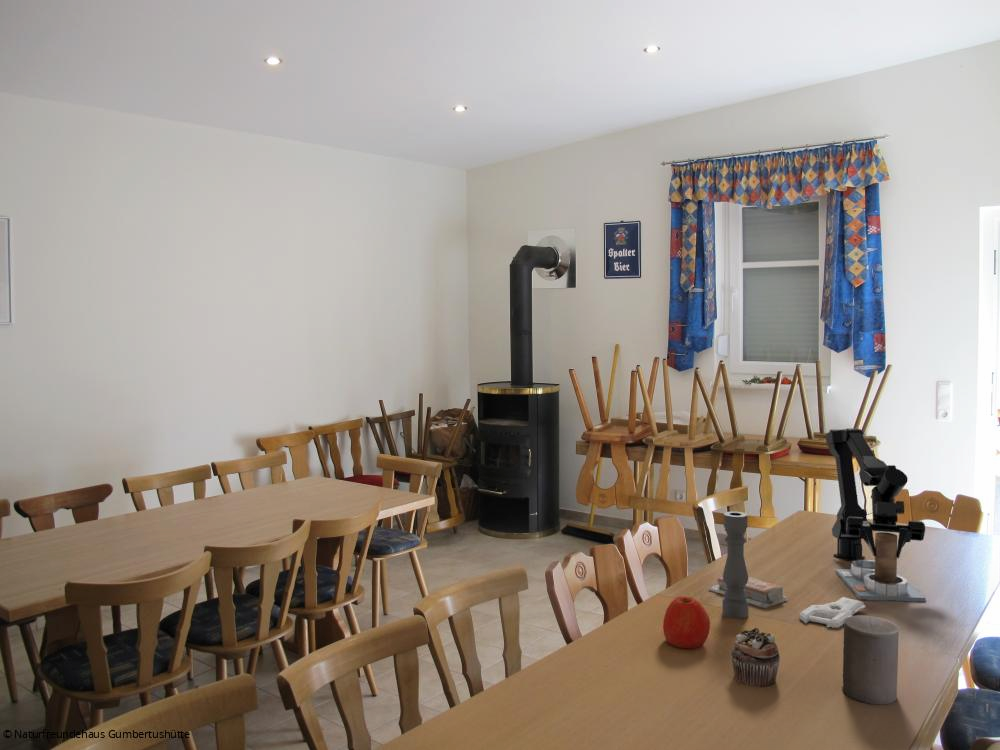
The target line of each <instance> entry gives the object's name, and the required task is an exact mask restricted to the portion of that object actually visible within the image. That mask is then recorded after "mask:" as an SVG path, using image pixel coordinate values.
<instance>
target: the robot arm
mask: <svg viewBox="0 0 1000 750" xmlns="http://www.w3.org/2000/svg"><path fill="white" fill-rule="evenodd" d="M825 442H826V444H827V447H828V451H829V452H830V454H831V455H832V456H833V457H834V459H835V466H836V473H837V481H838V491H839V497H840V498H839V499H840V507H839V509H838V512H837V514H836V520H835V522H834V524H833V526H832V528H831V532H832V537H835V538H836V540H837V543H836V544H837V547H836V548H837V552H836V553H833V557H837V558H839V559H841V560H842V559H843V560H846V561H848V562H849V561H850V562H853V561H857V560H865V559H866V556H864V555H863V544H862V540H863V541H864V542H865V544H866V545H867V546H868V548H869V550H870V552H871V554H872V556H873V557H875V555H876V552H875V540H874V539H875V538H874V533H873V532H886V533H894V534H895V533H897V534H898V536H897V559H899V558H900V557H901V553H902V550H903V548H904V546H905V545H906V544H907V543H911V542H912V541H917V542H918V541H923V540H924V538H925V533H926V525H925V522H924V521H921V520H910V519H909V520H908V519H907V523H906V524H907V525H904V524H897V522H898V521H899V519H898V515H904V514H905V502H904V501H902V500H896V497H897V496H899V495H900V494H901V491H902V490H903V489H904V487H905V486H906V484H907V483H908V479H909V478H908V476H907V474H905V472H903V471H902V470H900V469H899V468H897V466H896V465H895V464H893V465H892V464H891V465H887V464H886V462H885V461H884V460H882V459H880V458H877V457H876V455H875V453H874V452H873V450H872V448H871V447H870V445H869V443H868V442H867V440H866V439H865V436H864V432H863V430H862V429H861V428H858V427H857V428H845V429H844V428H842V429H836V428H834V429H830V430H829V431H828V432H827V433H826V434H825ZM853 457H854V458H855V460H856V462H857V464H858V466H859V468H860V469H859V472H858V475H859V479H860V482H862V484H863V486H865V487H873V488H872V489H871V495H870V499H871V507H872V508H871V509H872V510H871V511H872V522H871V521H869V520H868V518H867V511H866V509H865V508H862V507H861V506H860V504H859V499H858V492H857V485H856V477H855V468H854V462H853Z"/></svg>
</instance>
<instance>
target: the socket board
mask: <svg viewBox="0 0 1000 750" xmlns="http://www.w3.org/2000/svg"><path fill="white" fill-rule="evenodd" d="M835 573H836V575H839V576H840V577H841V578H842V579H841V578H840V577H839V576H838V577H839V578H840V579H841V580H842V582H844V584H845V583H846V584H847V585H848V586H849V587H850V588H851V589H850V588H849V587H848V586H847V585H846V584H845V585H846V586H847V587H848V588H849V589H850V591H851V592H852V591H853V592H854V593H855V594H856V595H857V596H858V597H857V596H856V595H855V594H854V593H853V592H852V593H853V594H854V595H855V596H856V597H857V598H858V600H859V599H867V600H866V601H887V600H897V601H896V602H918V601H921V602H925V603H926V601H927V600H926V596H924V595H923V594H922V593H921V591H919V590H918V589H916V588H915V587H914V586H913V585H912V584H911V583H910V582H909V581H908V580H907V579H906V578H905V577H903V576H902V575H901V574H899V573H898V572H897V581H896V582H895V583H883V582H879V581H877V580H875V560H873V559H872V560H871V559H858V560H853V561H851V563H850V569H848V568H847V569H846V568H845V569H844V568H840V569H839V568H835ZM921 602H920V603H921Z"/></svg>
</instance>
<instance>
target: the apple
mask: <svg viewBox="0 0 1000 750" xmlns="http://www.w3.org/2000/svg"><path fill="white" fill-rule="evenodd" d="M662 628H663V629H662V630H663V631H662V632H663V635H664V637H665V640H666V641H667V642H668V643H669V644H670V645H671V646H674V647H678V648H682V649H695V648H699V647H700V646H703V645H704V644H705V642H706V641H707V639H708V637H709V634H710V629H711V620H710V617H709V614H708V612H707V611H706V609H705V607H704V606H703V604H701V602H700V601H699V600H697V599H696V598H693V597H689V596H677V597H676V598H673V599H672V600H671V602H670V603H669V604H668V606H667V608H666V610H665V614H664V616H663V623H662Z"/></svg>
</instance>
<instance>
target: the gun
mask: <svg viewBox="0 0 1000 750" xmlns="http://www.w3.org/2000/svg"><path fill="white" fill-rule="evenodd" d="M866 607H867V606H866V605H865V604H864V601H862V600H859V599H854V598H853V599H852V598H848V597H844V596H842V597H840V598H839V599H838V600H837V601H835V602H834V601H831V602H830V603H829V602H827V603H825V604H811V605H810V606H809V607H807V608H805V609H803V610H802V611H801V612H799V613H798V618H799V619H800V620H801V621H802V622H804V624H807V623H809V622H813V623H819V624H824V625H826V628H829V627H832V628H833V629H839V628H840V627H841V626H844V621H845V619H846V618H848V617H851V616H854V614H856V613H858V612H859V611H860V610H863V609H865V608H866ZM832 628H831V629H832Z"/></svg>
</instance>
